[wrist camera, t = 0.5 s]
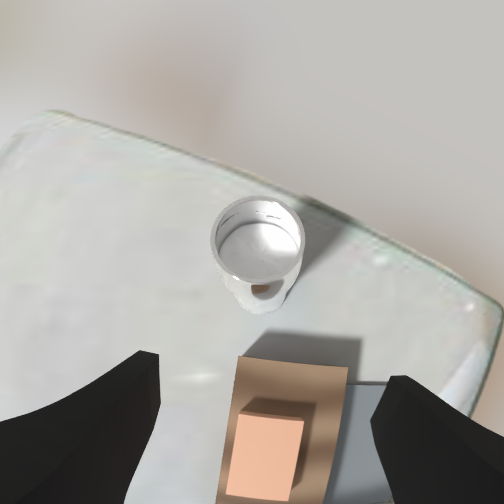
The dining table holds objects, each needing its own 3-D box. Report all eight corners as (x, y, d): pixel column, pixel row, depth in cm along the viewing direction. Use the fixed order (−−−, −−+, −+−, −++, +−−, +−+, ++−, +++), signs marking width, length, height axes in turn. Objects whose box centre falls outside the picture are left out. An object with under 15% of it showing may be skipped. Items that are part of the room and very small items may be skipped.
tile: (286, 493, 23) (288, 501, 21) (227, 486, 23) (225, 494, 21) (301, 417, 26) (304, 421, 24) (240, 410, 26) (238, 413, 24)
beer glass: (230, 260, 36) (209, 194, 22) (289, 259, 36) (304, 192, 22) (230, 318, 33) (204, 287, 19) (291, 317, 33) (312, 284, 19)
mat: (388, 499, 24) (390, 501, 23) (312, 504, 25) (313, 506, 24) (413, 385, 29) (415, 385, 29) (336, 383, 30) (337, 384, 30)
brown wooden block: (309, 516, 24) (314, 531, 20) (217, 507, 25) (212, 522, 21) (338, 366, 31) (348, 367, 27) (241, 356, 32) (238, 355, 28)
